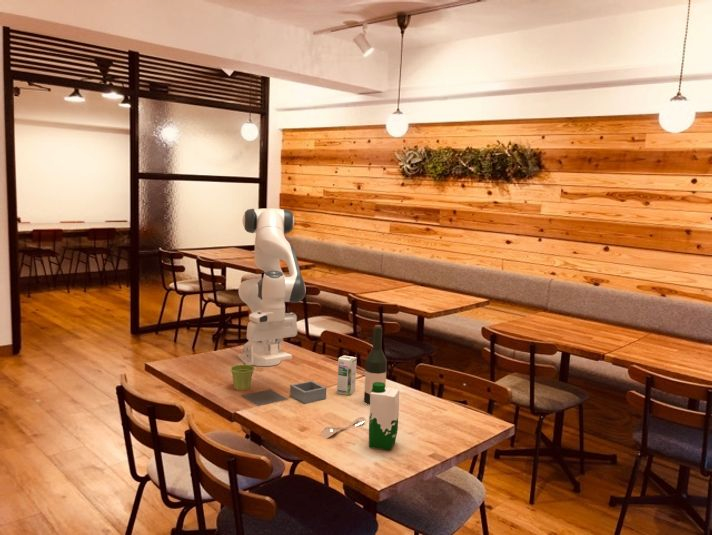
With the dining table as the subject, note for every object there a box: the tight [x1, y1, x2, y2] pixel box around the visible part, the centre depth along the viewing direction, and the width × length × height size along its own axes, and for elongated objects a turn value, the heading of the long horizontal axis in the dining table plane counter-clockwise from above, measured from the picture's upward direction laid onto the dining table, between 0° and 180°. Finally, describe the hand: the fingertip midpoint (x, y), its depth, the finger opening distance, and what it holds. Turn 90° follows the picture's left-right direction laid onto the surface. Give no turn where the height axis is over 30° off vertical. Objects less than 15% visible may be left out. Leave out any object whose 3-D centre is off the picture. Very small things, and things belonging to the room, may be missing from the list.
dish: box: [289, 380, 328, 405], centre depth 231 cm, size 10×10×5 cm
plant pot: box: [229, 364, 255, 391], centre depth 239 cm, size 9×9×9 cm
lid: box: [252, 342, 293, 363], centre depth 228 cm, size 11×11×5 cm
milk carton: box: [368, 382, 400, 451], centre depth 192 cm, size 9×9×20 cm
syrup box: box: [336, 354, 358, 396], centre depth 240 cm, size 6×6×14 cm
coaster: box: [241, 389, 288, 407], centre depth 230 cm, size 13×13×1 cm
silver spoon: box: [320, 416, 366, 439], centre depth 204 cm, size 20×4×5 cm
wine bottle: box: [363, 324, 388, 406], centre depth 230 cm, size 8×8×30 cm
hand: (272, 350), depth 228 cm, fingers closed on lid, 3 cm apart
